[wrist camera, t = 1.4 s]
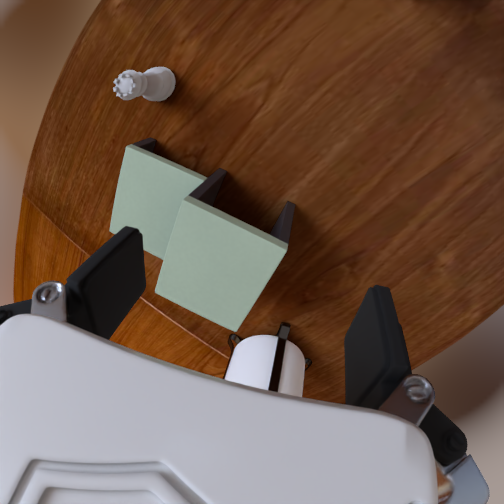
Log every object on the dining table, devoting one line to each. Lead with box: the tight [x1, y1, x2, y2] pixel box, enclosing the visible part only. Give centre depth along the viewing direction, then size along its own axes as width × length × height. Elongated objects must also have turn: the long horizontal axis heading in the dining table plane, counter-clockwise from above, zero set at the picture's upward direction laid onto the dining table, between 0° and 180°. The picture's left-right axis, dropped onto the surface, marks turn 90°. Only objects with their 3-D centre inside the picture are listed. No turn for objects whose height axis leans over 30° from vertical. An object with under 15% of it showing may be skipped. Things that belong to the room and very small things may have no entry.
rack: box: [110, 138, 295, 332], centre depth 32 cm, size 12×20×11 cm, turn 66°
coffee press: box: [223, 322, 312, 397], centre depth 36 cm, size 17×16×30 cm
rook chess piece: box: [113, 67, 176, 101], centre depth 26 cm, size 4×4×8 cm
